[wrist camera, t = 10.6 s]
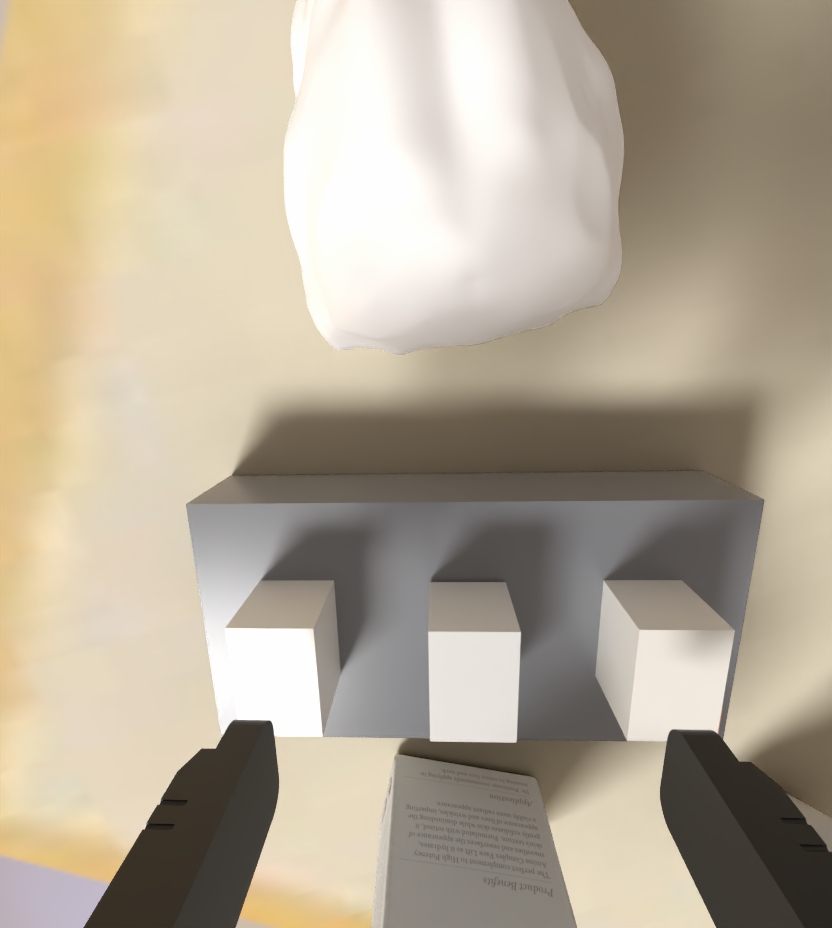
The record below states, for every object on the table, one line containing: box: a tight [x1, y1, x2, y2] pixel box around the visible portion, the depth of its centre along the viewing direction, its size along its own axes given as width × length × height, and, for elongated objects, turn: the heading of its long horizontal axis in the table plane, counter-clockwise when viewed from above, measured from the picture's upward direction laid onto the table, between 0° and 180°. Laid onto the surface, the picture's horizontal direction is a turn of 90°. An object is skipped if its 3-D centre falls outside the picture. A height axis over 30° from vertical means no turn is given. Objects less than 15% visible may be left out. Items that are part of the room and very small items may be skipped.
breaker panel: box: [186, 471, 764, 742], centre depth 14 cm, size 8×16×5 cm, turn 91°
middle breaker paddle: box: [428, 582, 521, 743], centre depth 13 cm, size 3×2×2 cm
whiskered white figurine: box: [284, 0, 624, 355], centre depth 10 cm, size 6×8×12 cm
